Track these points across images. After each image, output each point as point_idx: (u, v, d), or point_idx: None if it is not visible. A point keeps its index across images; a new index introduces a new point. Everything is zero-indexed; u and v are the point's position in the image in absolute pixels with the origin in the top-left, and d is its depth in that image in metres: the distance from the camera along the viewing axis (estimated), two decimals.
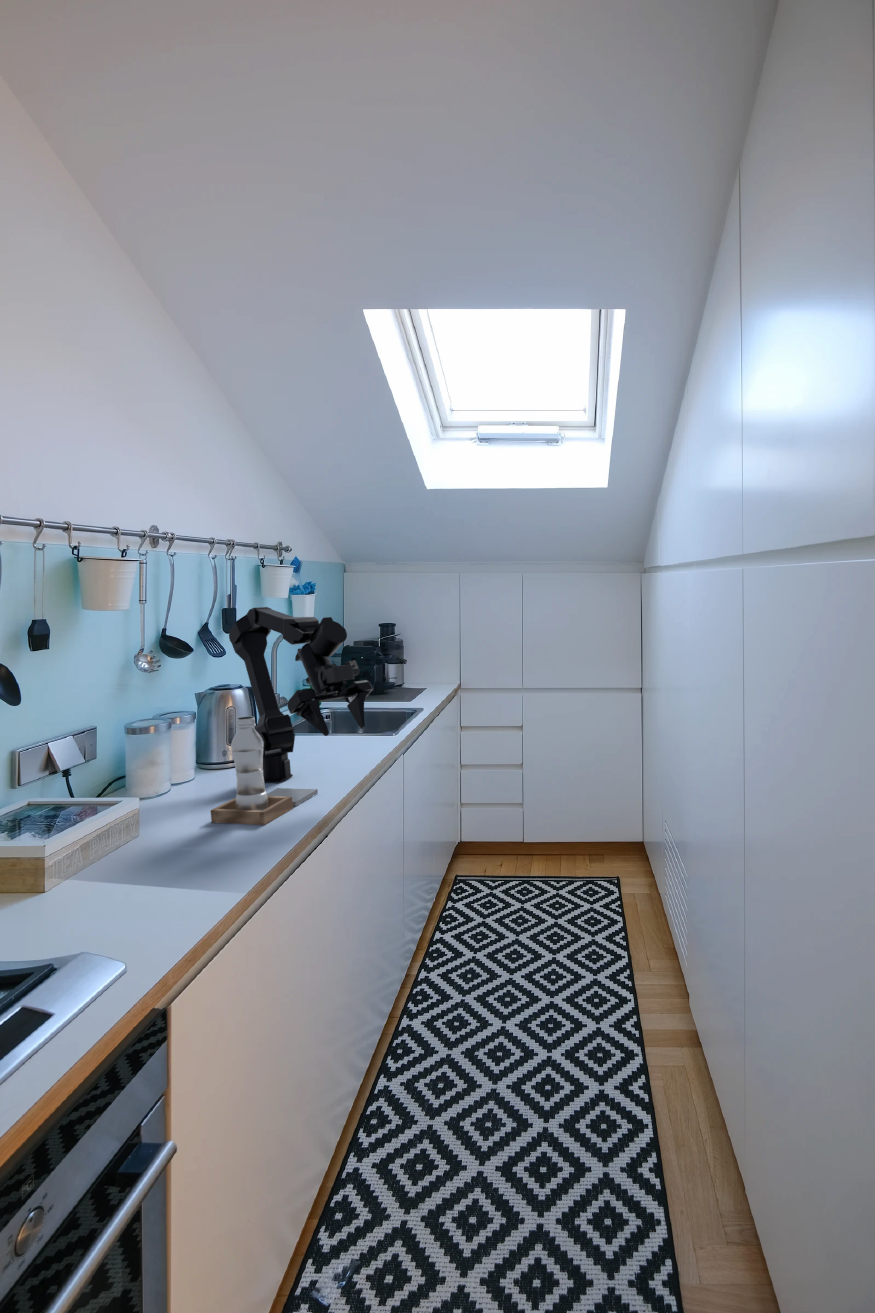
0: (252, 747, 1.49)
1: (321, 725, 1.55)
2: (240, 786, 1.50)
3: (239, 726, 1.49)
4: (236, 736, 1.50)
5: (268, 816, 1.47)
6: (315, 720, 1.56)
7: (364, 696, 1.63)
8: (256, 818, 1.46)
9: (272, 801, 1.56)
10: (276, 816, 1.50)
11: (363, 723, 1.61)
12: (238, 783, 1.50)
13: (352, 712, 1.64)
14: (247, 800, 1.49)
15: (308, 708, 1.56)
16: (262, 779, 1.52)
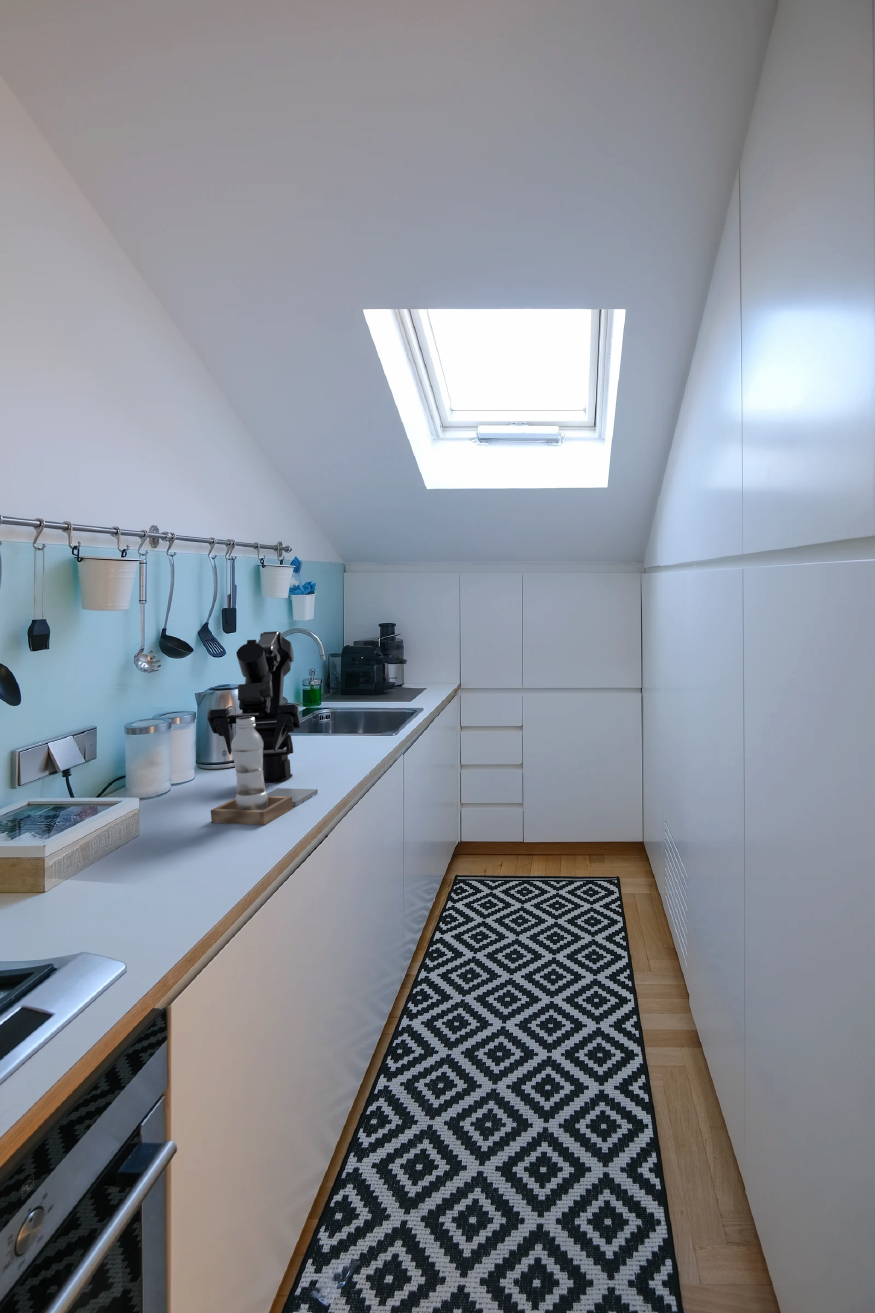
0: (252, 747, 1.49)
1: (226, 743, 1.56)
2: (240, 786, 1.50)
3: (239, 726, 1.49)
4: (236, 736, 1.50)
5: (268, 816, 1.47)
6: None
7: (283, 719, 1.58)
8: (256, 818, 1.46)
9: (272, 801, 1.56)
10: (276, 816, 1.50)
11: (274, 745, 1.56)
12: (238, 783, 1.50)
13: None
14: (247, 800, 1.49)
15: None
16: (262, 779, 1.52)
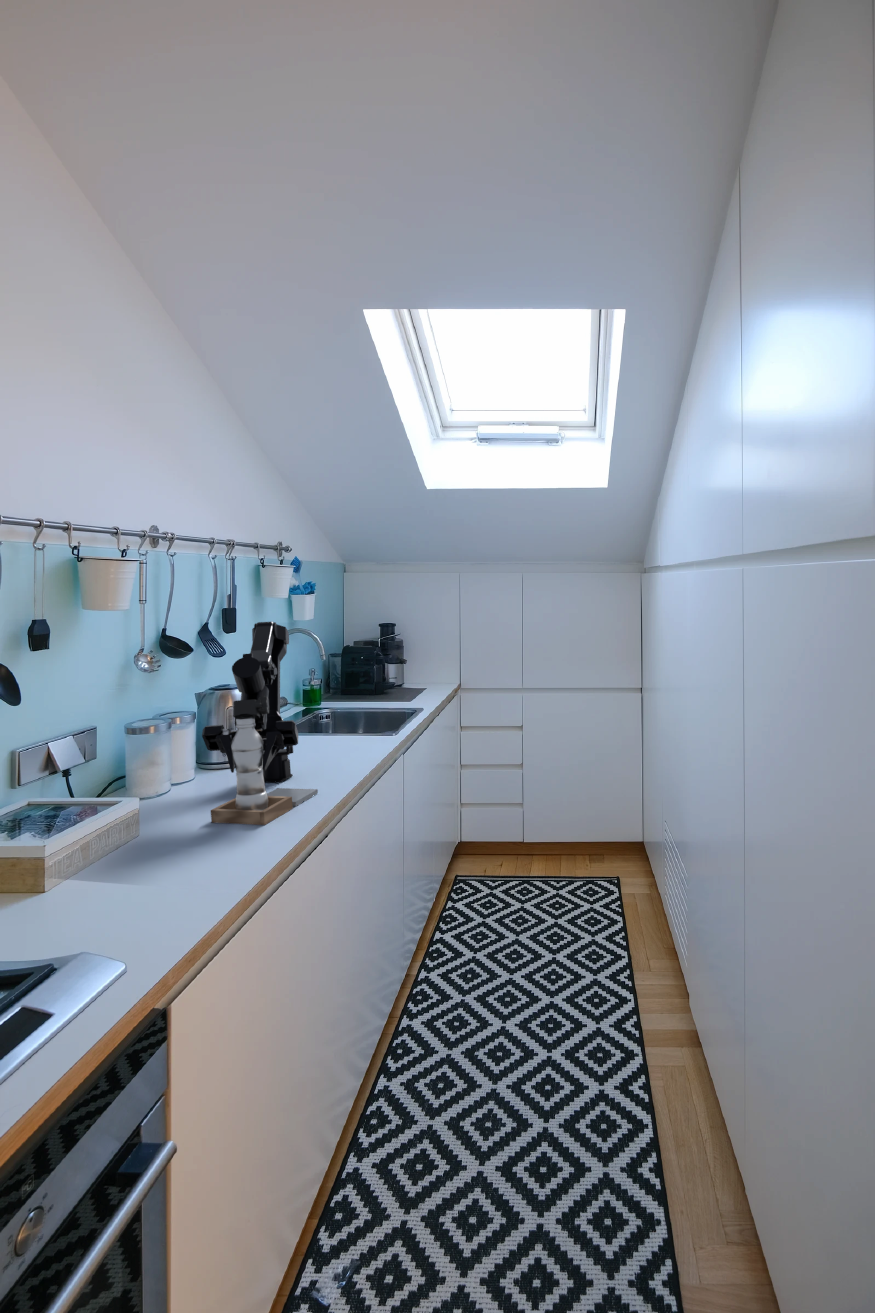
0: (252, 747, 1.49)
1: None
2: (240, 786, 1.50)
3: (239, 726, 1.49)
4: (236, 736, 1.50)
5: (268, 816, 1.47)
6: None
7: (273, 737, 1.53)
8: (256, 818, 1.46)
9: (272, 801, 1.56)
10: (276, 816, 1.50)
11: (263, 764, 1.51)
12: (238, 783, 1.50)
13: None
14: (247, 800, 1.49)
15: None
16: (262, 779, 1.52)
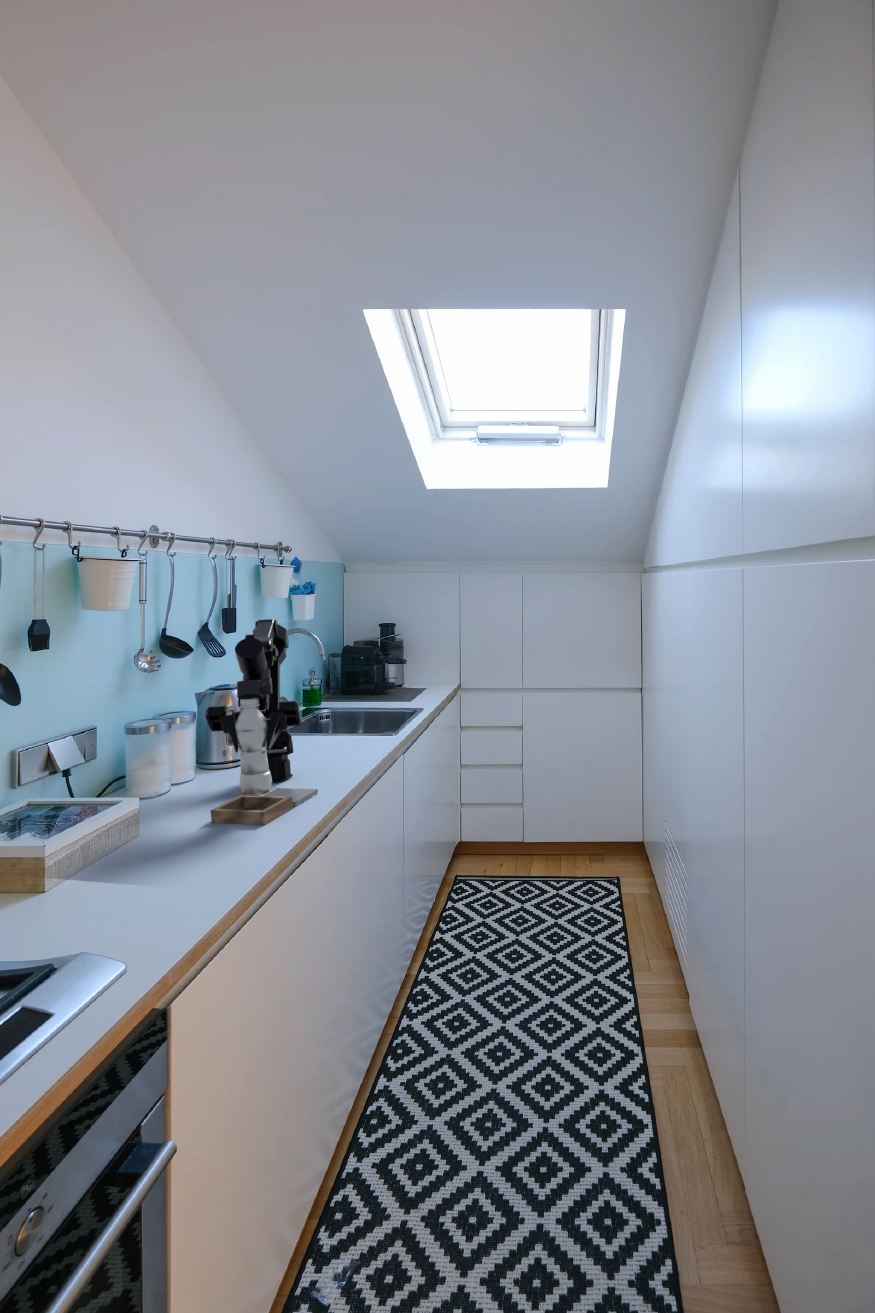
0: (256, 727, 1.50)
1: None
2: (244, 765, 1.51)
3: (243, 706, 1.50)
4: (240, 716, 1.50)
5: (268, 816, 1.47)
6: None
7: (277, 717, 1.54)
8: (256, 818, 1.46)
9: (272, 801, 1.56)
10: (276, 816, 1.50)
11: (268, 744, 1.52)
12: (242, 763, 1.51)
13: None
14: (251, 779, 1.50)
15: None
16: (266, 759, 1.53)
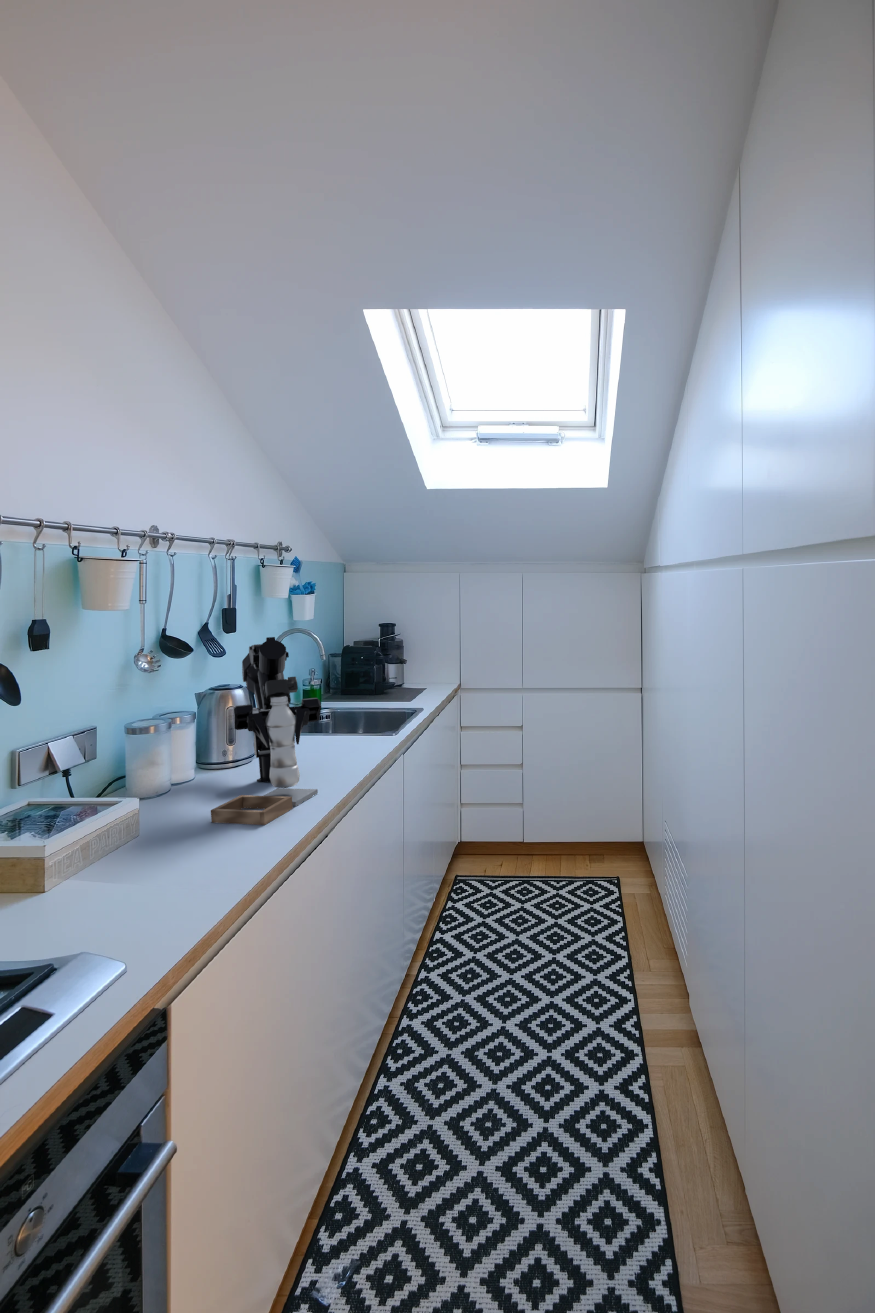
0: (289, 723, 1.60)
1: (263, 737, 1.61)
2: (276, 759, 1.61)
3: (275, 704, 1.60)
4: (273, 713, 1.60)
5: (268, 816, 1.47)
6: (260, 733, 1.63)
7: (302, 713, 1.65)
8: (256, 818, 1.46)
9: (272, 801, 1.56)
10: (276, 816, 1.50)
11: (297, 738, 1.63)
12: (274, 757, 1.61)
13: (295, 730, 1.67)
14: (284, 772, 1.60)
15: (254, 722, 1.63)
16: None
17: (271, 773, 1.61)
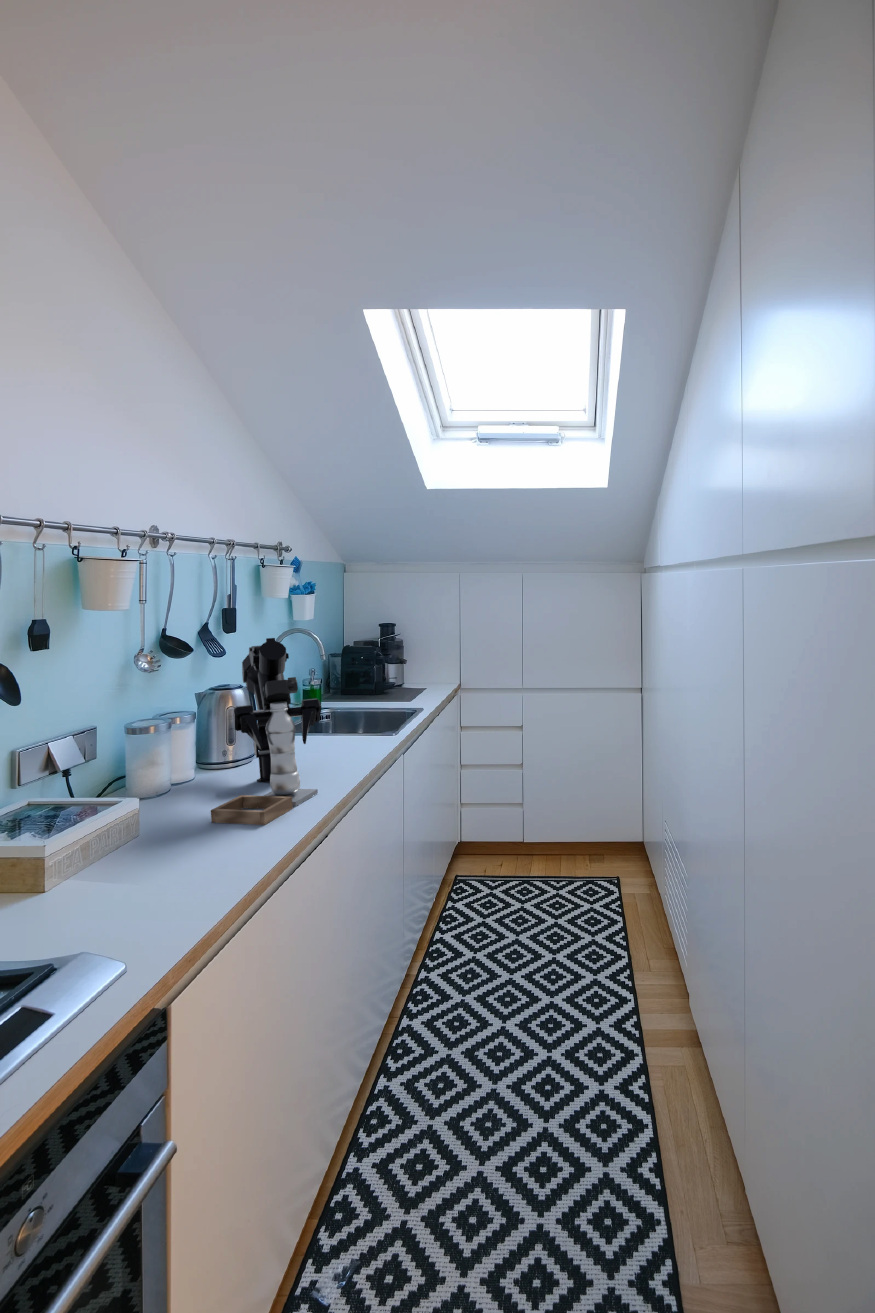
0: (289, 729, 1.61)
1: (256, 739, 1.61)
2: (277, 766, 1.61)
3: (275, 710, 1.61)
4: (272, 719, 1.61)
5: (268, 816, 1.47)
6: (253, 735, 1.62)
7: (309, 713, 1.66)
8: (256, 818, 1.46)
9: (272, 801, 1.56)
10: (276, 816, 1.50)
11: (304, 738, 1.63)
12: (275, 764, 1.61)
13: None
14: (285, 778, 1.60)
15: (248, 724, 1.63)
16: (295, 759, 1.64)
17: (271, 780, 1.61)
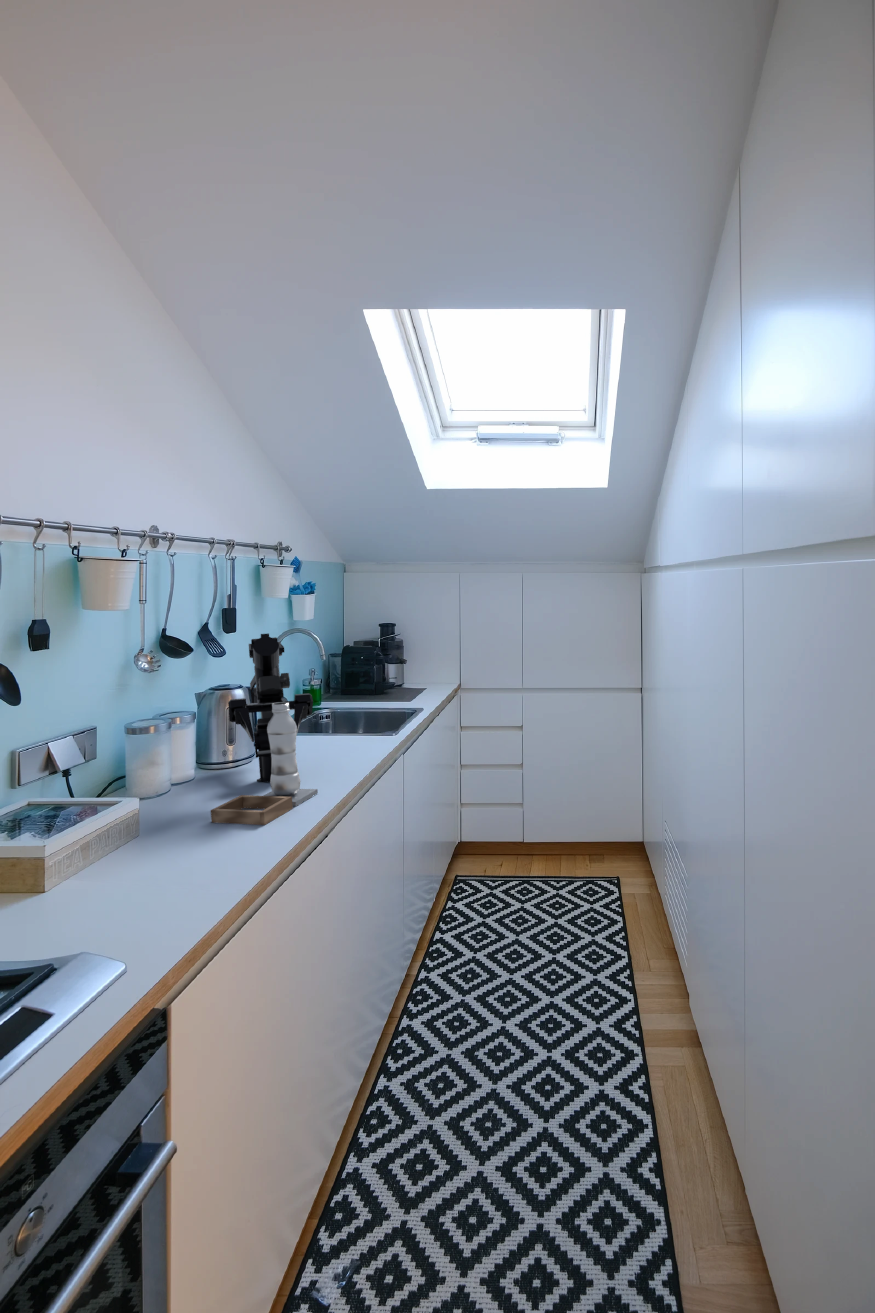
0: (290, 730, 1.60)
1: (248, 731, 1.67)
2: (277, 767, 1.61)
3: (277, 711, 1.60)
4: (274, 720, 1.60)
5: (268, 816, 1.47)
6: (246, 727, 1.69)
7: (301, 708, 1.71)
8: (256, 818, 1.46)
9: (272, 801, 1.56)
10: (276, 816, 1.50)
11: None
12: (275, 764, 1.61)
13: None
14: (285, 779, 1.60)
15: (241, 716, 1.70)
16: None
17: (272, 780, 1.61)
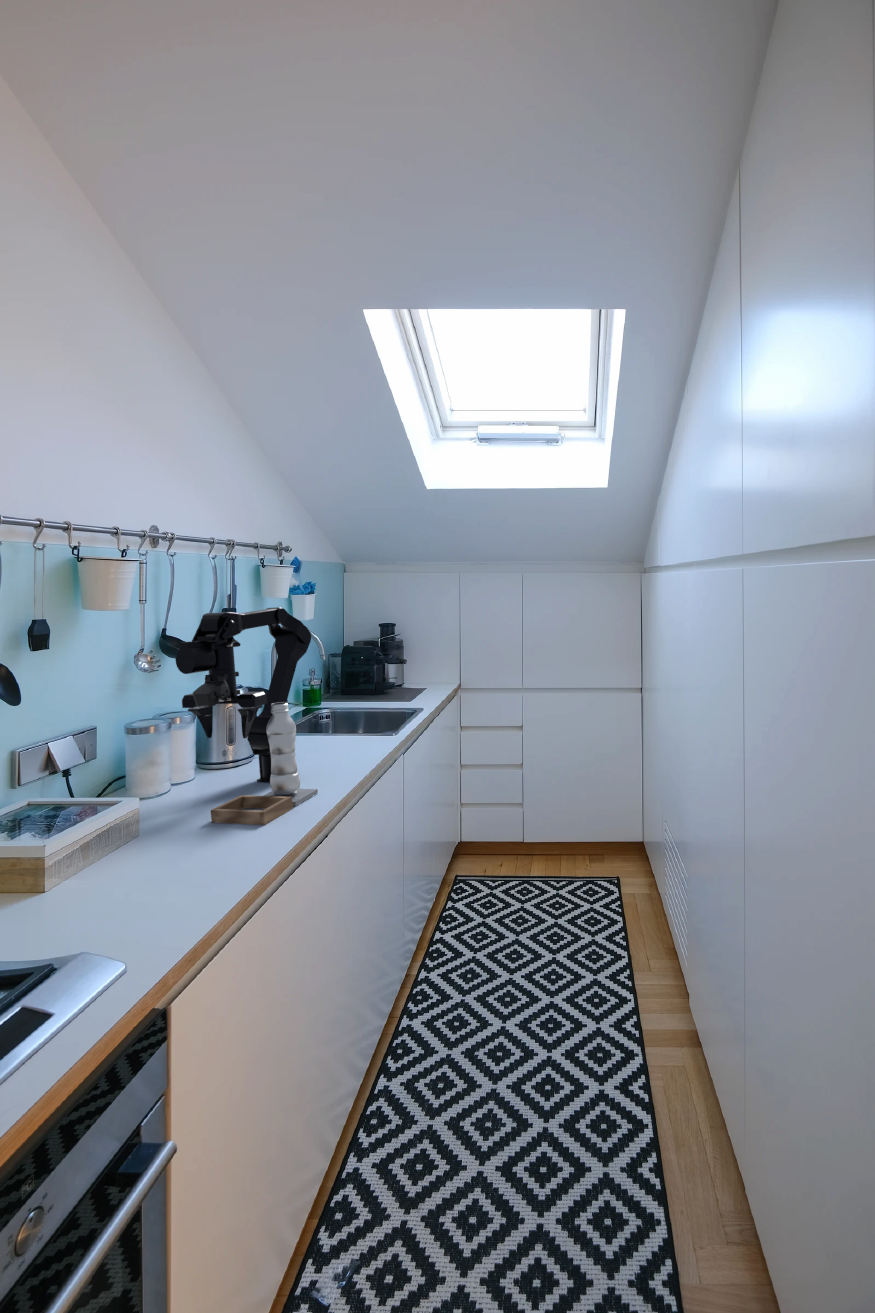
0: (289, 730, 1.60)
1: None
2: (277, 767, 1.61)
3: (276, 711, 1.60)
4: (273, 720, 1.60)
5: (268, 816, 1.47)
6: None
7: (244, 712, 1.64)
8: (256, 818, 1.46)
9: (272, 801, 1.56)
10: (276, 816, 1.50)
11: (243, 735, 1.67)
12: (275, 764, 1.61)
13: None
14: (285, 779, 1.60)
15: None
16: (295, 760, 1.63)
17: (272, 780, 1.61)
